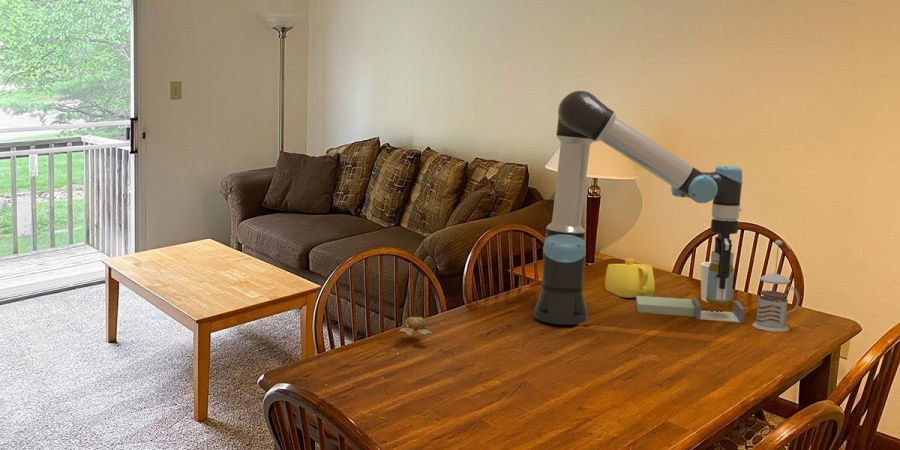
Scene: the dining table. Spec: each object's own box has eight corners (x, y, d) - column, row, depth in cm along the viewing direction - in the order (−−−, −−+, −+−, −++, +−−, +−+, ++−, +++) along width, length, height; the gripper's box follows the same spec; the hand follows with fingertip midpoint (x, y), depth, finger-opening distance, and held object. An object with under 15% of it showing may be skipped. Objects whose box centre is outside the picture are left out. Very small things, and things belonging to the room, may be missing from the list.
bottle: (732, 306, 229) (737, 255, 227) (707, 304, 231) (711, 253, 229) (729, 301, 236) (733, 251, 234) (704, 299, 237) (708, 250, 235)
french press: (757, 320, 231) (765, 236, 228) (799, 327, 224) (808, 241, 221) (748, 327, 223) (756, 239, 220) (791, 334, 216) (800, 245, 213)
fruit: (400, 335, 200) (400, 320, 199) (398, 328, 208) (399, 314, 207) (432, 335, 200) (433, 320, 200) (430, 328, 209) (430, 314, 208)
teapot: (594, 293, 262) (594, 257, 261) (625, 291, 266) (625, 256, 266) (630, 298, 243) (629, 260, 243) (663, 296, 248) (662, 259, 248)
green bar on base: (638, 314, 233) (639, 301, 232) (635, 303, 247) (636, 290, 246) (743, 322, 228) (745, 309, 227) (734, 310, 242) (735, 297, 242)
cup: (736, 306, 249) (740, 266, 247) (716, 309, 243) (720, 268, 241) (710, 299, 257) (713, 260, 255) (690, 302, 251) (693, 263, 249)
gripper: (744, 223, 220) (737, 305, 223) (732, 216, 238) (726, 291, 242) (716, 222, 221) (710, 303, 225) (706, 214, 240) (701, 289, 243)
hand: (718, 296), depth 233 cm, fingers closed on bottle, 5 cm apart
